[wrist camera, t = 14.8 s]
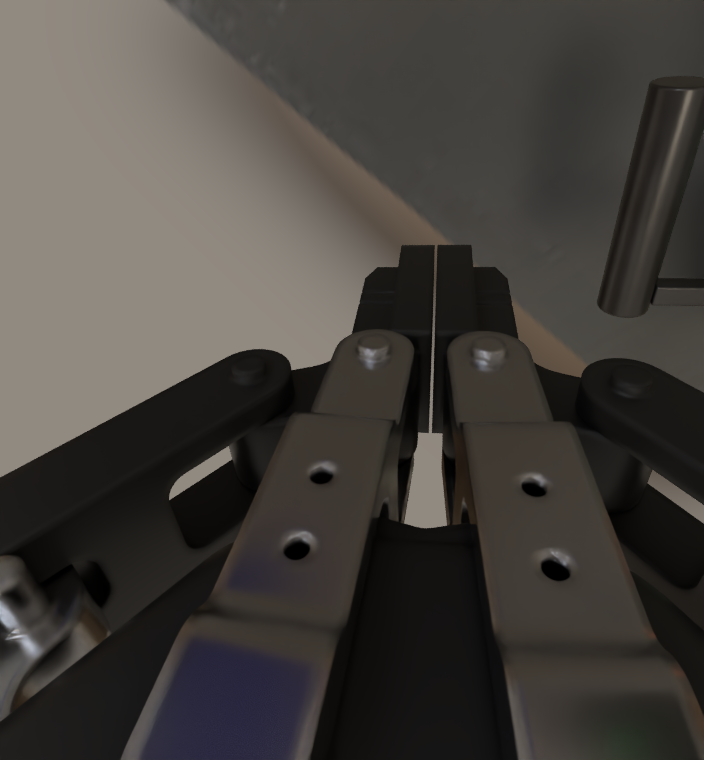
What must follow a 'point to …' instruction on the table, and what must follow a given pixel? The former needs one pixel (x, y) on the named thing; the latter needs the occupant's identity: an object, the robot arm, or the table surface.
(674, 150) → the storage drawer
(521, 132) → the table surface
